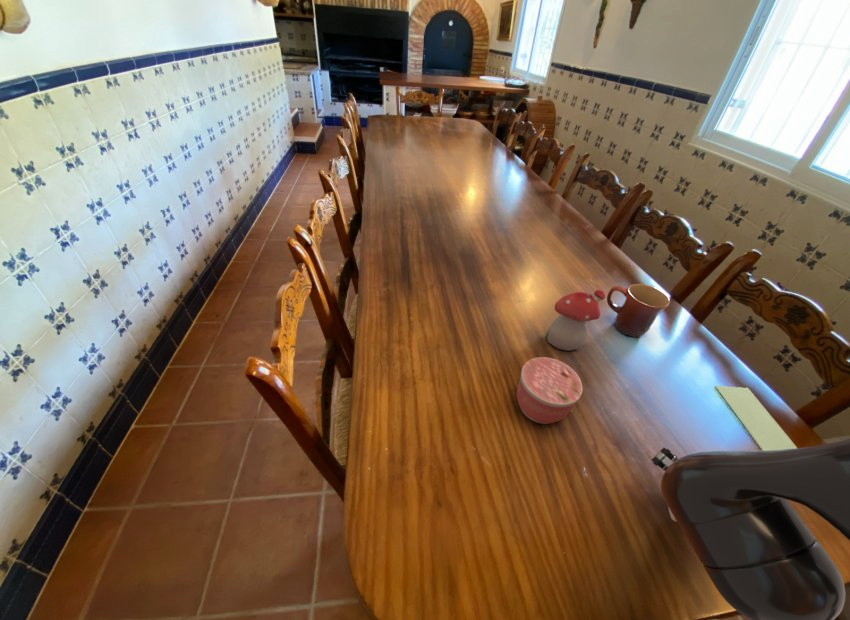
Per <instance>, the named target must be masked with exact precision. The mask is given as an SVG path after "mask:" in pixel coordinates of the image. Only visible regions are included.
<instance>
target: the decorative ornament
mask: <svg viewBox="0 0 850 620" xmlns="http://www.w3.org/2000/svg"><path fill="white" fill-rule="evenodd" d="M606 298H607V295H606V292H605V291H604V290H602V289H596V290H595V291H594V293H589V292H587V291H574V292H572V293H569V294H566V295H564V296H562V297H561V298H559V299H558V300H557V301H556V302H555V303H554V310H555V312H557V313H558V314H559V316H557V317H556V318H555V319H554V320H553V321H552V322H551V324H550V326H549V327H548V331H547V333H546V335H545V339H546V341H547V343H549V344H550V345H551V346H553V347H554V348H556V349H558V350H563V351H567V352H570V351H574V350H577V349H578V348H579V347H580V346H581V345H582V344H583V342H585V340H586V338H587V336H588V324H587V322H591V321H596V320H599V318H600V317H601V315H602V314H601V313H602V312H601V306H600V301H603V300H605V299H606Z"/></svg>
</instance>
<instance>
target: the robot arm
mask: <svg viewBox="0 0 850 620" xmlns="http://www.w3.org/2000/svg"><path fill="white" fill-rule="evenodd" d="M651 461H652V464H654V465H655V466H657V467H659V468H660V469H661V470H662V471H663V472H664V473H663V474H662V477H661V481H660V490H661V495H662V497H663V499H664V502H665V503H666V505H667V508H668V507H669V509H670V510H671V512H672V514H673V516H674V517H675V519H676V521H677V522H676V521H675V522H676V523H678V525H679V527H680V529H681V531H682V533H683V534H684V536H685V538H686V539H687V541H688V543H689V544H690V546H691V548H692V550H693V552H694V553H695V555H696V556H697V559H698V560H699V562H700V563H701V565H702V568H703V569H704V570H705V572H706V574H707V576H708V577H709V579H710V580H711V582H712V584H713V585H714V587H715V589H716V590H717V591H718V593H719V595H720V596H721V597H722V598H723V599H724V601H725V602H727V604H729V606H731V607H732V608H733V609H734V610H735V611H737V612H738V613H739V614H741V615H742V616H744V617H745V618H747V619H749V620H835V619H836V618H837V617H838V616H839V615H840V614H841V613H842V611H843V609H844V606H845V602H846V588H845V581H844V578H843V576H842V573H841V572H840V570H839V568H838V566H837V565H836V563H835V562H834V561H833V559H832V558H831V556H830V555H829V554H828V552H827V551H826V550H825V548H824V547H823V545H822V543H820V542H819V540H818V539H817V538H816V536H815V535H814V533H813V532H812V531H811V529H810V528H809V527H808V525H807V524H806V523H805V522H804V520H803V519H802V518H801V516H800V515H799V514H798V512H797V511H796V509H795V508H794V507H793V506H792V504H791V503H790V502H789V501H791V502H794V503H797V504H799V505H802V506H804V507H806V508H808V509H809V510H811V511H812V512H814V513H816V515H818V516H820V517H821V518H822V519H824V521H826V522H827V523H828V524H829V525H830V526H832V527H833V528H834V529H836V530H837V531H838V532H839V533H840V534H841V535H842V536H843V537H844V538H845V539H847V540H848V541H849V542H850V438H848V439H843V440H839V441H835V442H831V443H830V442H829V443H825V444H818V445H812V446H806V447H797V449H785V450H767V451H762V450H713V451H701V452H695V453H691V454H687V455H685V456H681V457H679V458H678V456H677V455H676V454H673V453H672V450H670V449H669V448H666V447H662V448H661V449H660V451H658V453H656V454H655V456H653V457H652V458H651ZM669 509H668V510H669Z"/></svg>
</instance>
